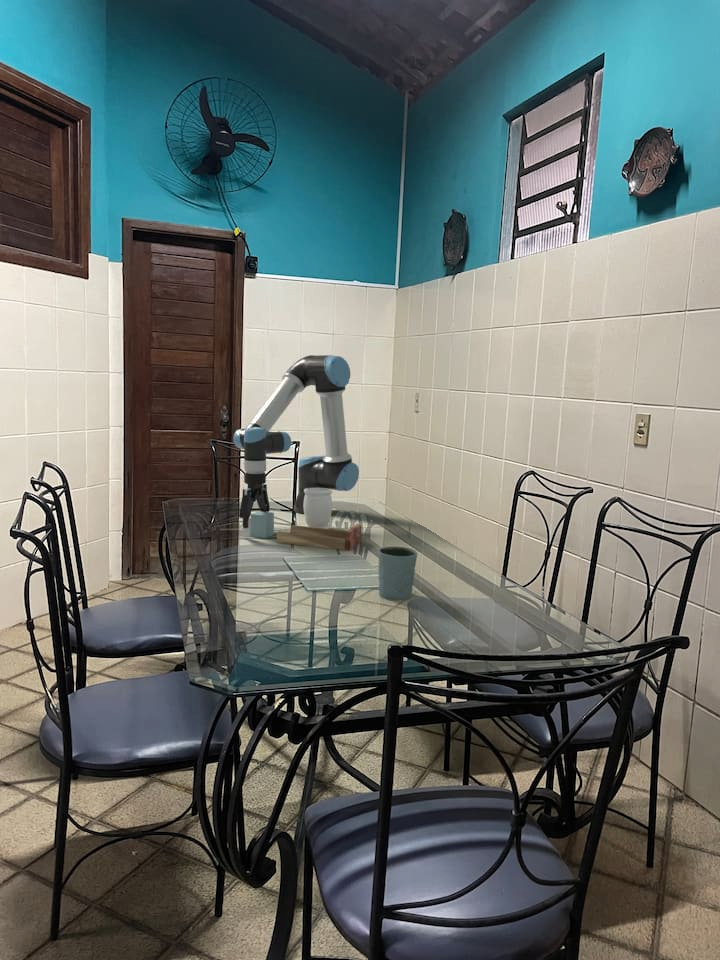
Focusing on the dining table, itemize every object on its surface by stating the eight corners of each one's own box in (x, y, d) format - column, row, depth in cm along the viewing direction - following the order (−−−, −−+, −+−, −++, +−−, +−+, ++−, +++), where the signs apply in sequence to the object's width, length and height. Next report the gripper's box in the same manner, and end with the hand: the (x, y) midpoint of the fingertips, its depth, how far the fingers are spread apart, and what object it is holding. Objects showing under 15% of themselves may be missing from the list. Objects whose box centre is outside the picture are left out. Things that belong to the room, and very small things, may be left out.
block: (258, 533, 248) (258, 511, 247) (273, 534, 246) (273, 512, 245) (250, 536, 242) (250, 514, 241) (266, 538, 240) (266, 515, 239)
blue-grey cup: (377, 588, 187) (378, 545, 185) (414, 590, 187) (416, 546, 185) (376, 600, 177) (378, 555, 175) (416, 602, 177) (418, 556, 175)
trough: (291, 534, 246) (292, 518, 245) (361, 542, 238) (361, 525, 237) (276, 542, 235) (276, 525, 234) (348, 550, 227) (349, 532, 226)
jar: (314, 533, 249) (315, 492, 246) (297, 528, 256) (298, 488, 254) (337, 530, 255) (338, 490, 253) (320, 525, 263) (320, 486, 261)
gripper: (260, 467, 253) (260, 525, 256) (228, 475, 231) (228, 539, 234) (279, 468, 251) (278, 527, 254) (248, 477, 228) (248, 541, 232)
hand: (254, 533), depth 244 cm, fingers open, 11 cm apart
